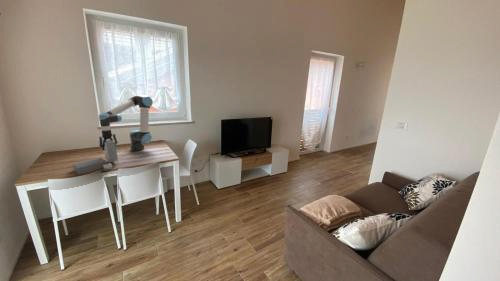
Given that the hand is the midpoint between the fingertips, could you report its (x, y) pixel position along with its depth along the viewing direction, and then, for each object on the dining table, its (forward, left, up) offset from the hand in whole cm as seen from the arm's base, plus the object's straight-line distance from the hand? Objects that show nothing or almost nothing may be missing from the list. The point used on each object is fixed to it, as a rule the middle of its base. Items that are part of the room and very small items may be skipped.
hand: (110, 151), depth 208 cm
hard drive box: (0, 0, -9) cm, 9 cm away
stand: (+18, 0, -11) cm, 22 cm away
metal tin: (+9, +14, -12) cm, 20 cm away
